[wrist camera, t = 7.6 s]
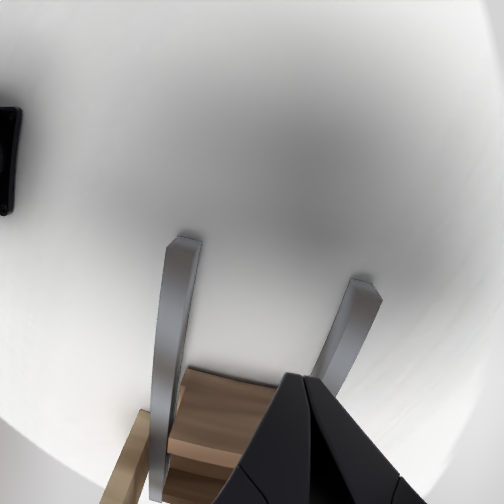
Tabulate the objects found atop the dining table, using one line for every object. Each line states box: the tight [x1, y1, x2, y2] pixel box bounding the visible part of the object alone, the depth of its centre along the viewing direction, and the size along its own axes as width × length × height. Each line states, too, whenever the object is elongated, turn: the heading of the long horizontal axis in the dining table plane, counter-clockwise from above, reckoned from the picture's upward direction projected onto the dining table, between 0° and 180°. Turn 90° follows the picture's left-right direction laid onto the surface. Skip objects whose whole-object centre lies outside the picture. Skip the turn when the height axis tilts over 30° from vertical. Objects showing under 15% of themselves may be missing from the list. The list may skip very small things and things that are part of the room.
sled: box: [162, 368, 277, 504], centre depth 17 cm, size 11×7×5 cm, turn 166°
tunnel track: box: [99, 236, 383, 504], centre depth 14 cm, size 25×12×12 cm, turn 166°
